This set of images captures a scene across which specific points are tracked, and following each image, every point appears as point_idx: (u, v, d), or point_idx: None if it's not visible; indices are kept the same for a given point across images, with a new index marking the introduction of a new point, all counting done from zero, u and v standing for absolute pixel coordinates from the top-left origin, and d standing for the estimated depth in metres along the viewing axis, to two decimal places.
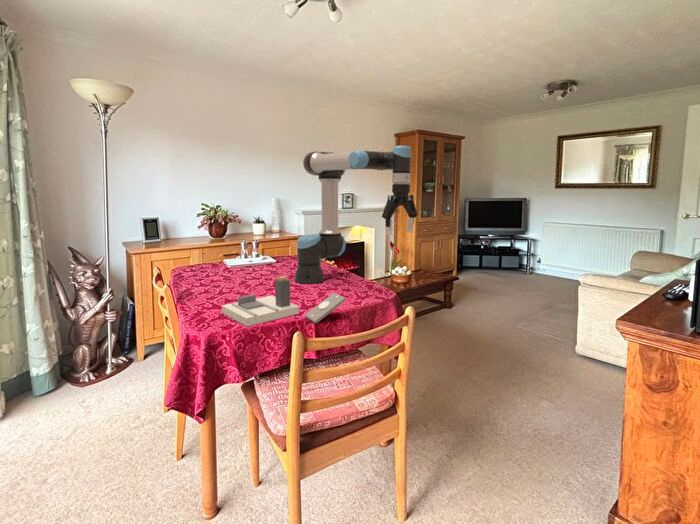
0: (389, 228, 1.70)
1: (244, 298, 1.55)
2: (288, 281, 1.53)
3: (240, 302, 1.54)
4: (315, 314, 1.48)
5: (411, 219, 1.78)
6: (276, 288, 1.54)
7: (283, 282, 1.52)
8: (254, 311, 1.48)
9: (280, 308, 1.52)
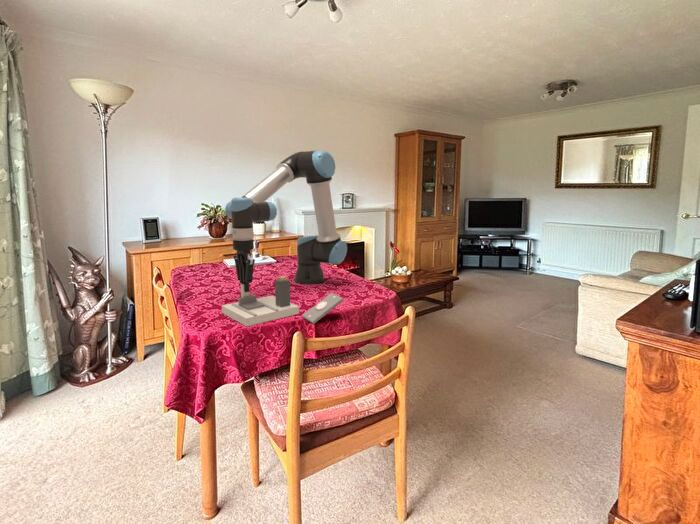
0: None
1: (245, 298, 1.54)
2: (288, 281, 1.53)
3: (241, 302, 1.53)
4: (312, 314, 1.47)
5: None
6: (276, 288, 1.54)
7: (283, 282, 1.52)
8: (254, 311, 1.48)
9: (280, 308, 1.52)
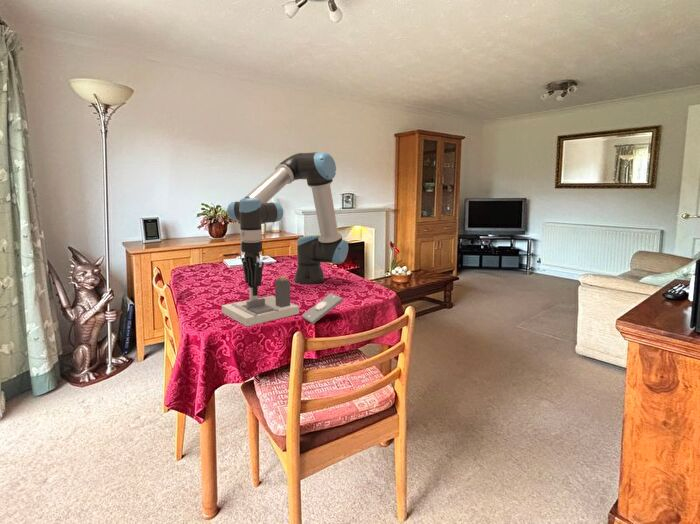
0: None
1: (253, 302, 1.49)
2: (288, 281, 1.53)
3: (249, 306, 1.48)
4: (312, 315, 1.47)
5: None
6: (276, 288, 1.54)
7: (283, 282, 1.52)
8: None
9: (280, 308, 1.52)
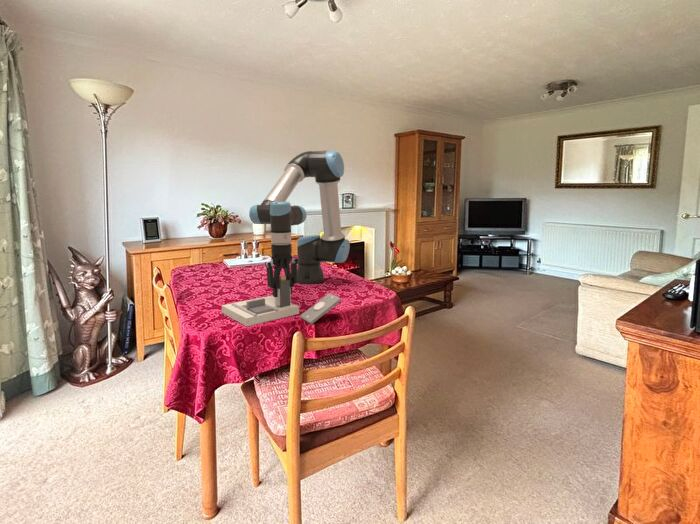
0: (277, 298, 1.53)
1: (253, 302, 1.49)
2: (288, 281, 1.53)
3: (249, 306, 1.48)
4: (310, 315, 1.47)
5: None
6: None
7: (283, 282, 1.52)
8: None
9: (280, 308, 1.52)
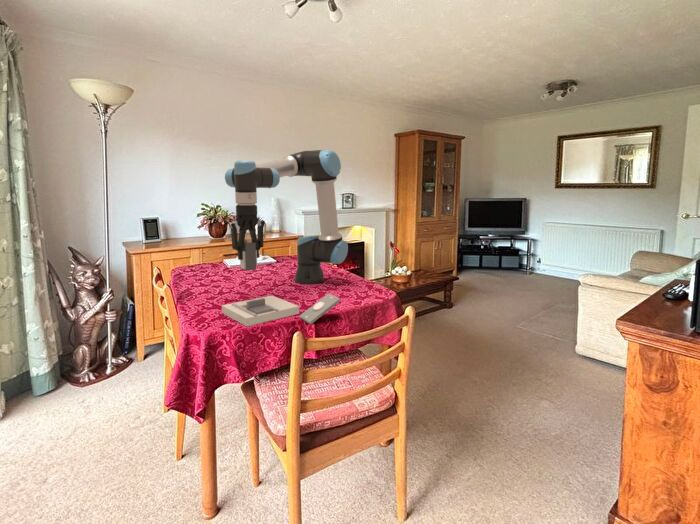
0: (242, 261, 1.49)
1: (253, 302, 1.49)
2: (254, 244, 1.49)
3: (249, 306, 1.48)
4: (309, 315, 1.47)
5: None
6: None
7: (248, 245, 1.48)
8: None
9: (280, 308, 1.52)
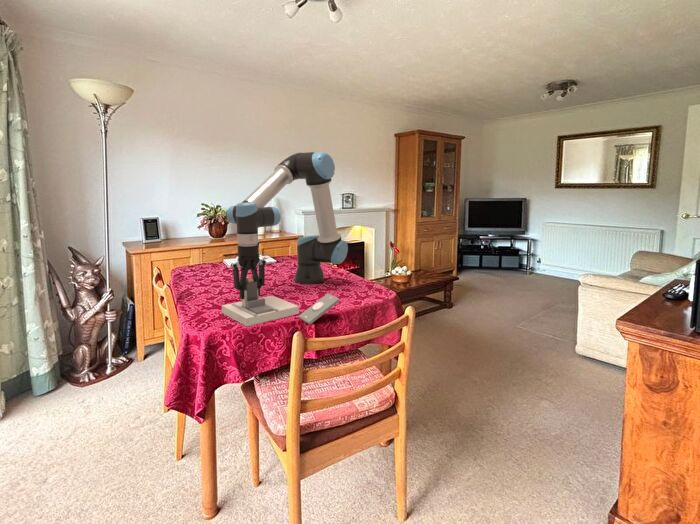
0: (244, 300, 1.51)
1: (253, 302, 1.49)
2: (255, 283, 1.52)
3: (249, 306, 1.48)
4: (309, 315, 1.46)
5: None
6: None
7: (250, 284, 1.50)
8: None
9: (280, 308, 1.52)
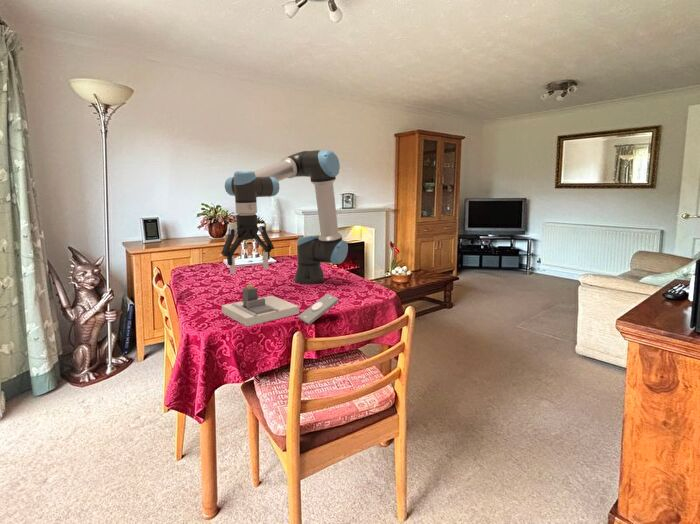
0: (232, 267, 1.46)
1: (253, 302, 1.49)
2: (255, 290, 1.52)
3: (249, 306, 1.48)
4: (308, 315, 1.46)
5: (265, 254, 1.54)
6: (244, 297, 1.53)
7: (250, 291, 1.51)
8: None
9: (280, 308, 1.52)
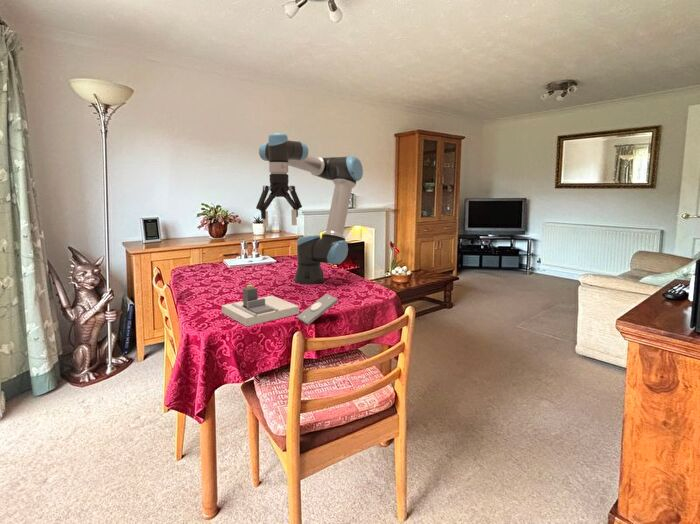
0: (265, 220, 1.62)
1: (253, 302, 1.49)
2: (256, 290, 1.52)
3: (249, 306, 1.48)
4: (307, 315, 1.46)
5: (294, 211, 1.70)
6: (244, 297, 1.53)
7: (250, 291, 1.51)
8: None
9: (280, 308, 1.52)
